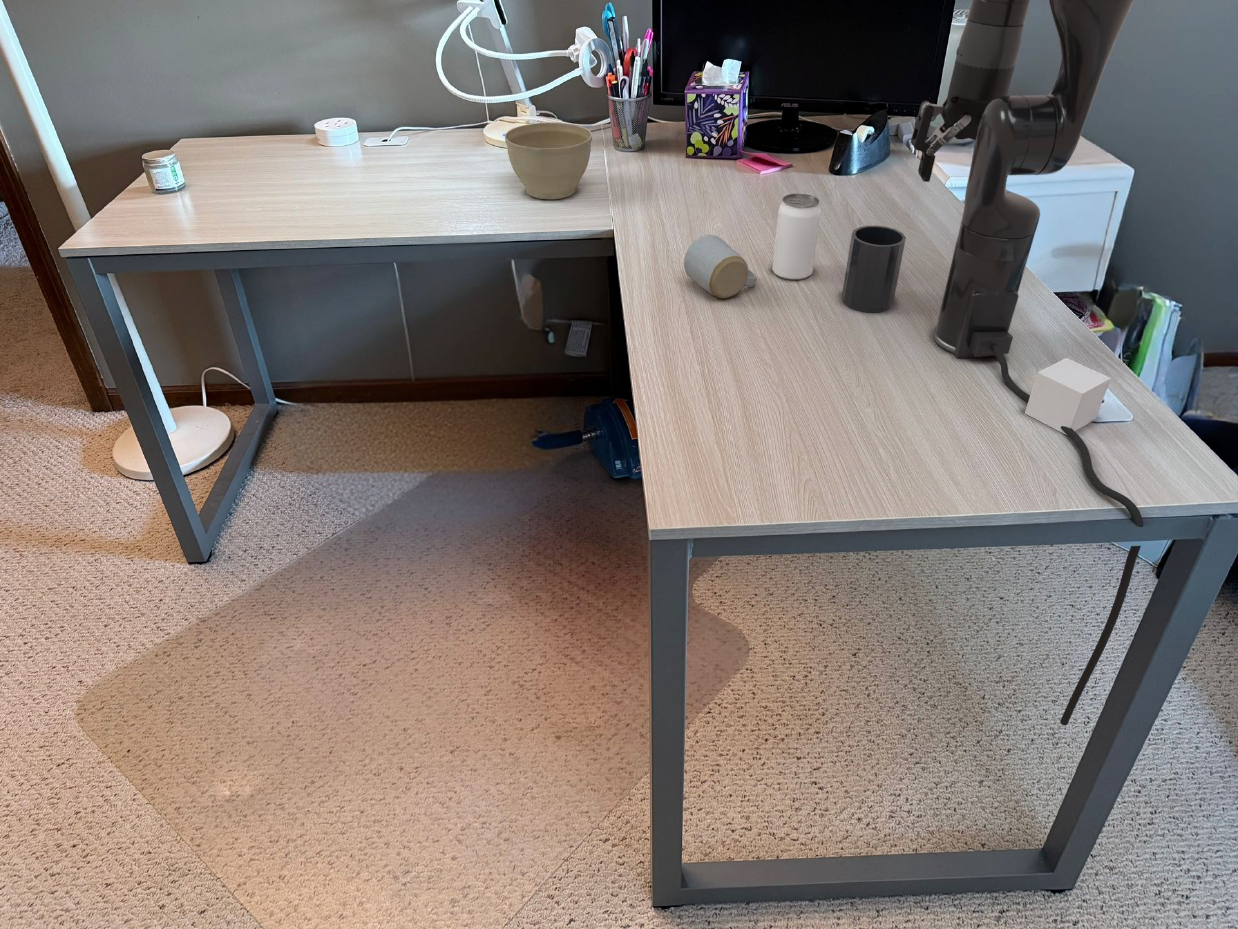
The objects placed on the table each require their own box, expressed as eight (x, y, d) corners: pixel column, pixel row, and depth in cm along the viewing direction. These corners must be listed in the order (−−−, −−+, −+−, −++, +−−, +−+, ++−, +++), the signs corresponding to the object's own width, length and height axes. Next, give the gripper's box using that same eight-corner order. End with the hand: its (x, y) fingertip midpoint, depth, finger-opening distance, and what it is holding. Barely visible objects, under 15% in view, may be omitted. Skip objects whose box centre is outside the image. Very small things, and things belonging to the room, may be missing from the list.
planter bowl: (605, 200, 172) (604, 141, 165) (523, 212, 167) (519, 152, 160) (576, 172, 184) (575, 117, 177) (499, 183, 179) (494, 126, 172)
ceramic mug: (709, 305, 137) (713, 258, 133) (681, 284, 143) (684, 238, 138) (767, 292, 141) (772, 245, 137) (737, 271, 147) (742, 226, 142)
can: (811, 282, 144) (821, 209, 136) (770, 279, 145) (778, 206, 137) (813, 265, 149) (822, 193, 141) (773, 262, 150) (781, 190, 142)
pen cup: (898, 312, 136) (912, 245, 129) (848, 313, 135) (859, 246, 129) (884, 289, 142) (897, 225, 135) (836, 290, 142) (846, 225, 135)
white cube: (1052, 398, 117) (1066, 357, 113) (1095, 419, 113) (1111, 378, 109) (1024, 413, 114) (1037, 372, 111) (1067, 435, 110) (1082, 393, 107)
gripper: (939, 63, 116) (911, 188, 126) (1050, 68, 116) (1014, 192, 126) (924, 50, 122) (898, 170, 132) (1030, 54, 122) (997, 174, 132)
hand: (955, 181), depth 129 cm, fingers open, 8 cm apart
